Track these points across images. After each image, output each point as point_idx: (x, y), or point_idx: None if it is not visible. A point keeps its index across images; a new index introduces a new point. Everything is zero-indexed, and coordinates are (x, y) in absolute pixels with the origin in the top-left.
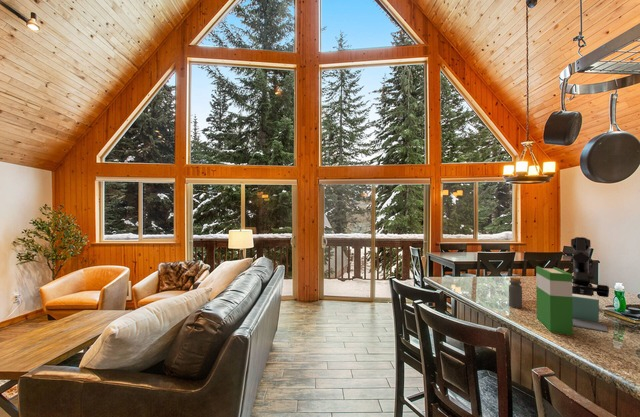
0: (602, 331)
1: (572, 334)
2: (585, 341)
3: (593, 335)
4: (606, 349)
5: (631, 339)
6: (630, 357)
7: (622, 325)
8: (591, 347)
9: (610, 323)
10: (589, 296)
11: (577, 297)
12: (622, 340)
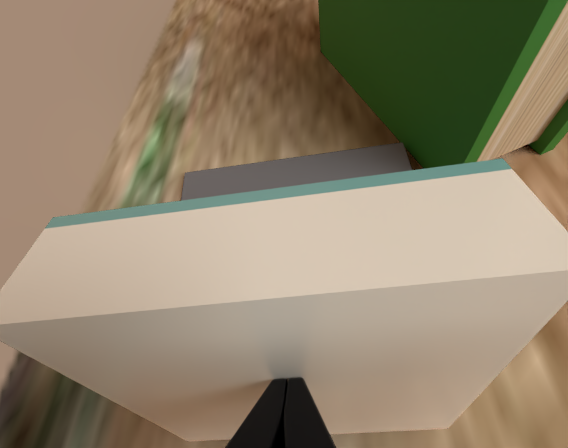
0: (208, 173)
1: (321, 48)
2: (277, 28)
3: (251, 97)
4: (225, 15)
5: (115, 153)
6: (178, 10)
7: (44, 435)
8: (262, 3)
9: (115, 433)
10: (133, 278)
11: (330, 184)
12: (155, 117)
